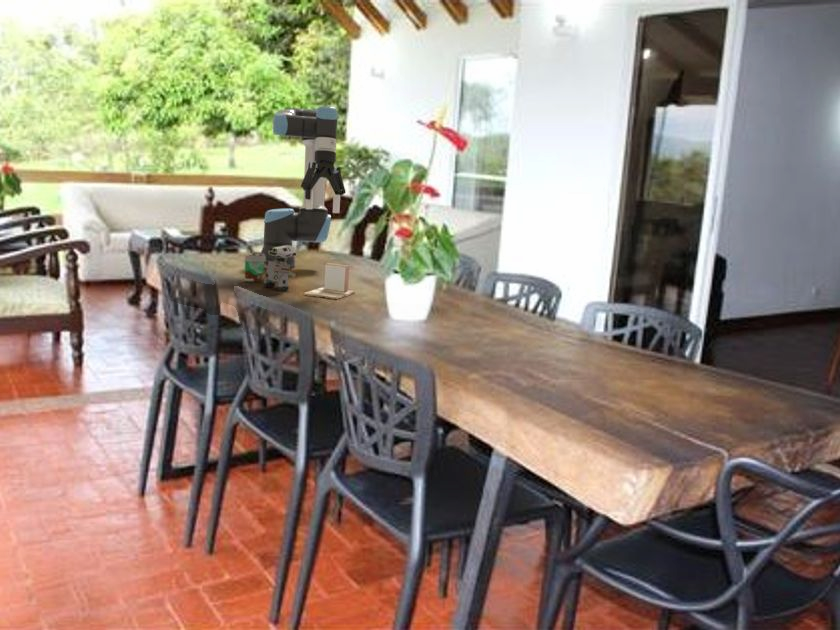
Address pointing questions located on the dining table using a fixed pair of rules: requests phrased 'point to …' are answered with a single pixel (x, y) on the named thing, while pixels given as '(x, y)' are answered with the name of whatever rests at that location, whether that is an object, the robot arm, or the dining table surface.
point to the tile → (336, 277)
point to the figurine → (279, 267)
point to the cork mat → (328, 293)
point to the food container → (254, 267)
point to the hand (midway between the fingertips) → (322, 211)
